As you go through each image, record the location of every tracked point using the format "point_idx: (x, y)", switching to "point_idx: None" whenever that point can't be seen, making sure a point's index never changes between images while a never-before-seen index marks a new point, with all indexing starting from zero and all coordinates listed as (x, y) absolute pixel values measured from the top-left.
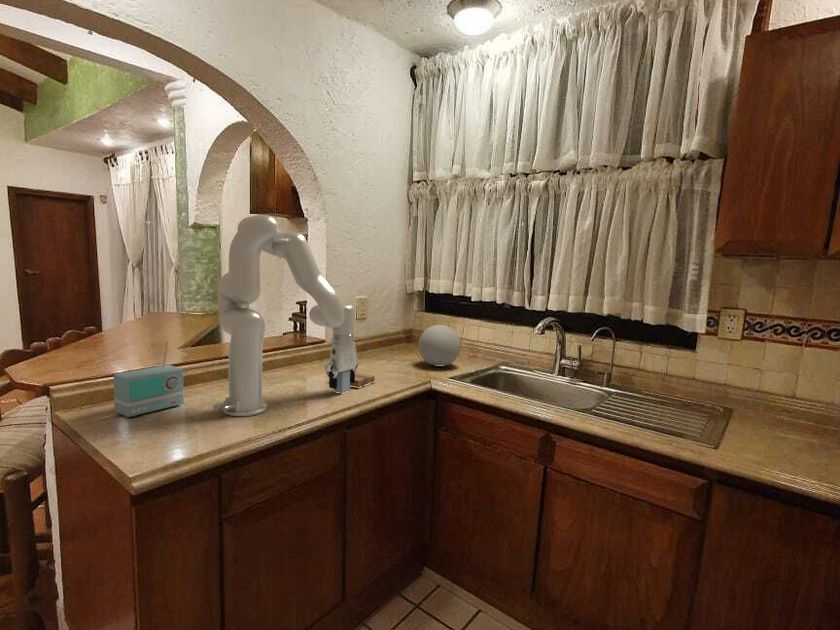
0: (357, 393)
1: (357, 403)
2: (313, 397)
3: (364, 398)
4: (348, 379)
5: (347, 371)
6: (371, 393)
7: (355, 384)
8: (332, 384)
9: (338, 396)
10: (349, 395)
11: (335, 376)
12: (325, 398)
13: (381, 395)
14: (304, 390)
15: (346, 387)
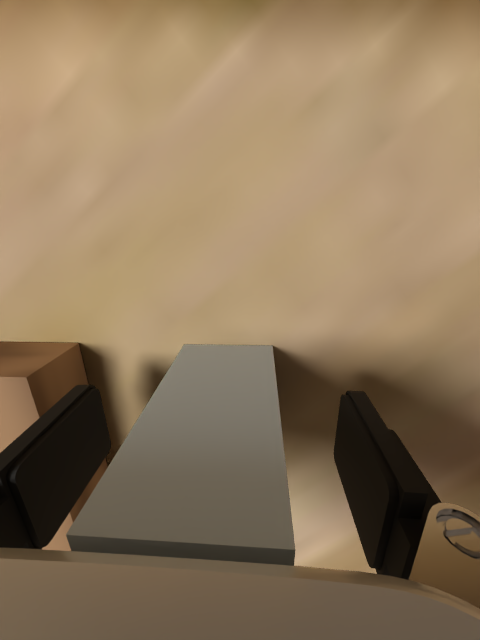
0: (165, 270)
1: (422, 32)
2: (451, 446)
3: (234, 104)
4: (165, 416)
5: (145, 537)
6: (69, 167)
7: (64, 385)
8: (400, 446)
9: (331, 335)
10: (254, 285)
11: (438, 531)
12: (431, 376)
13: (29, 19)
14: (349, 553)
15: (214, 368)
